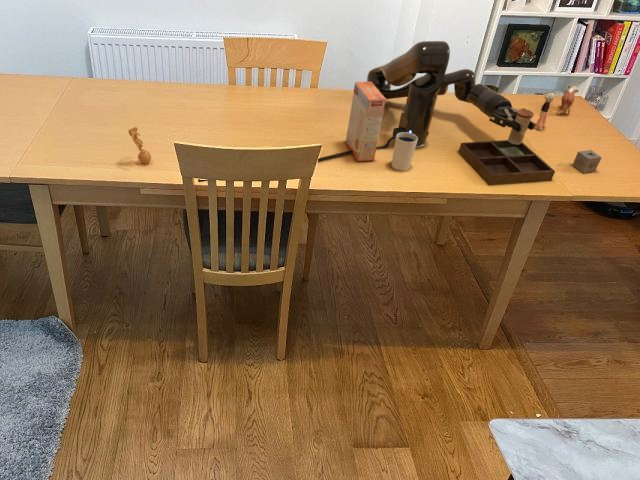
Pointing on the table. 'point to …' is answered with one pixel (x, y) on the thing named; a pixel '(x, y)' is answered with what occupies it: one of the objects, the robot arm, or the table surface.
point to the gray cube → (586, 161)
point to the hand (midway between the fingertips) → (526, 128)
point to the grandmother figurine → (544, 111)
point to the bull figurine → (568, 98)
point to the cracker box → (365, 120)
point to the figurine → (143, 155)
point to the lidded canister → (524, 120)
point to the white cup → (404, 150)
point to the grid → (505, 162)
